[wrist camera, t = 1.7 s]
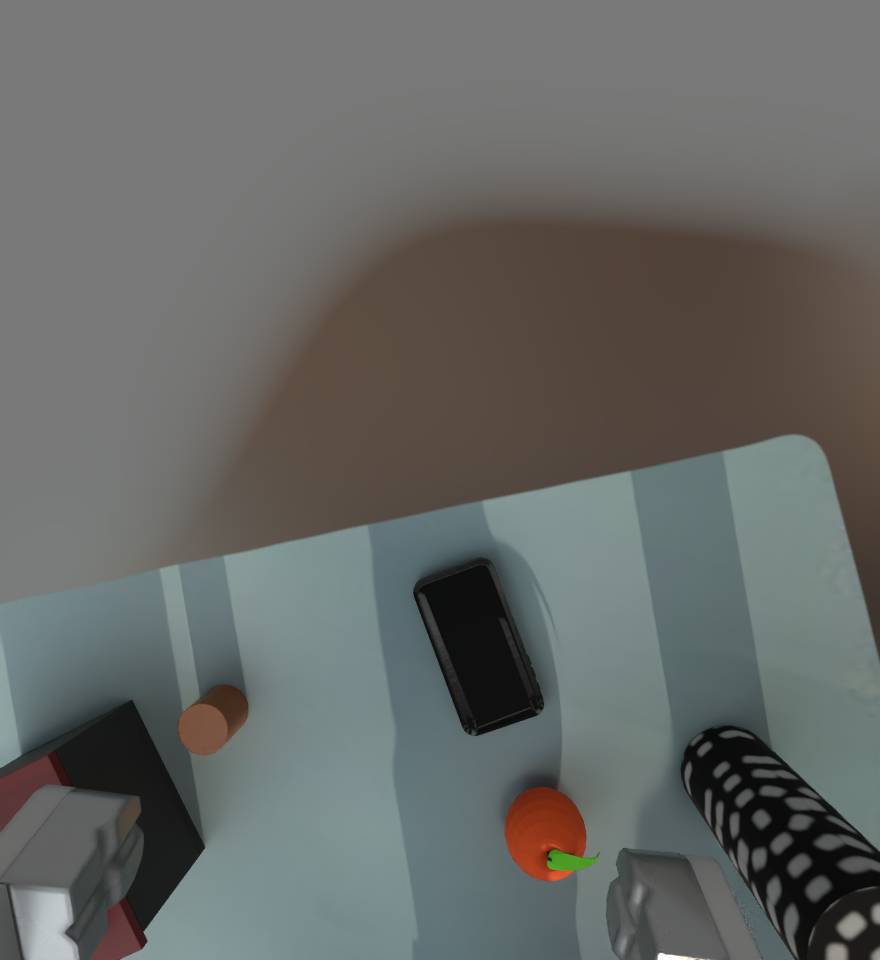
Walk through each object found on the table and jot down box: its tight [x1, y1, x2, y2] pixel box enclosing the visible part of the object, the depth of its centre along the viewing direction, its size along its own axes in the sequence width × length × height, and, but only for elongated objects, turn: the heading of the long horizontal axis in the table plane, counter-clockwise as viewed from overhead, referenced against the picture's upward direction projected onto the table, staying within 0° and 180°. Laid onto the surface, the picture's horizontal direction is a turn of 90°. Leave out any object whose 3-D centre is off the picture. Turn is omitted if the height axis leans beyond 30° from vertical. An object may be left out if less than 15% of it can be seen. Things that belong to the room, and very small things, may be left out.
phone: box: [413, 558, 544, 736], centre depth 52 cm, size 8×1×15 cm
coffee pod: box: [178, 685, 248, 755], centre depth 52 cm, size 5×5×4 cm
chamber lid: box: [0, 751, 147, 960], centre depth 43 cm, size 17×13×5 cm
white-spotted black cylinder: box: [681, 726, 880, 960], centre depth 41 cm, size 8×8×20 cm
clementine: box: [505, 787, 600, 881], centre depth 49 cm, size 8×7×7 cm
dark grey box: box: [0, 700, 205, 931], centre depth 50 cm, size 16×13×10 cm
